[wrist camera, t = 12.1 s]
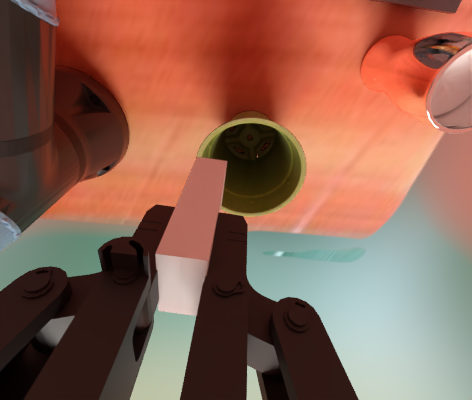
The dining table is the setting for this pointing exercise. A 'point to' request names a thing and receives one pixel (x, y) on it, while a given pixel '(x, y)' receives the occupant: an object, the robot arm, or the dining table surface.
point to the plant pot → (256, 164)
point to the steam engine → (428, 4)
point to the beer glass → (425, 77)
